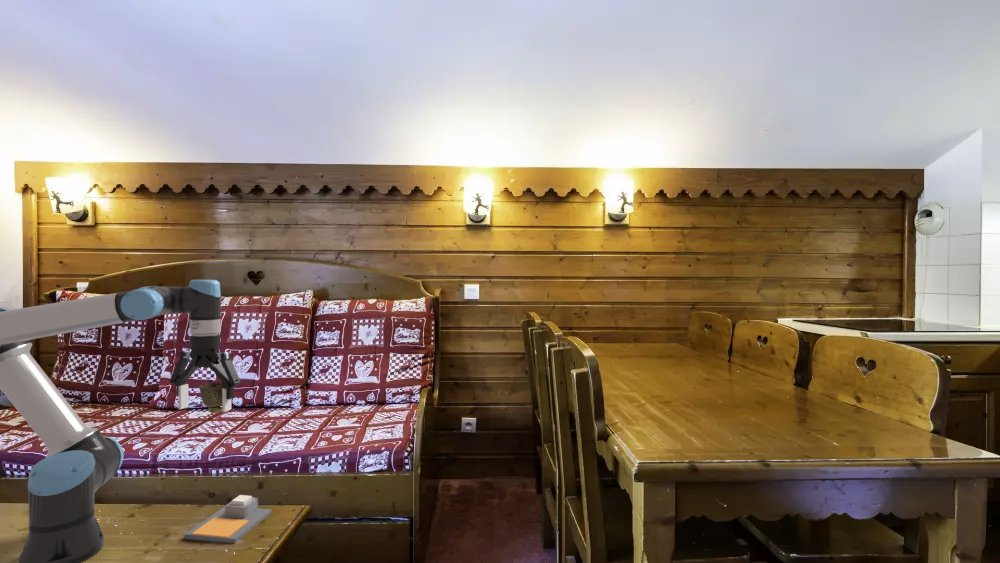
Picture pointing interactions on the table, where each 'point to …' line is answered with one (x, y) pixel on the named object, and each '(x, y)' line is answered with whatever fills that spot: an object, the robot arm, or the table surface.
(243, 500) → the button
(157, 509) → the table surface
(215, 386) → the cup
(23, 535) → the table surface
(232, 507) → the plate
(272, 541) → the table surface
